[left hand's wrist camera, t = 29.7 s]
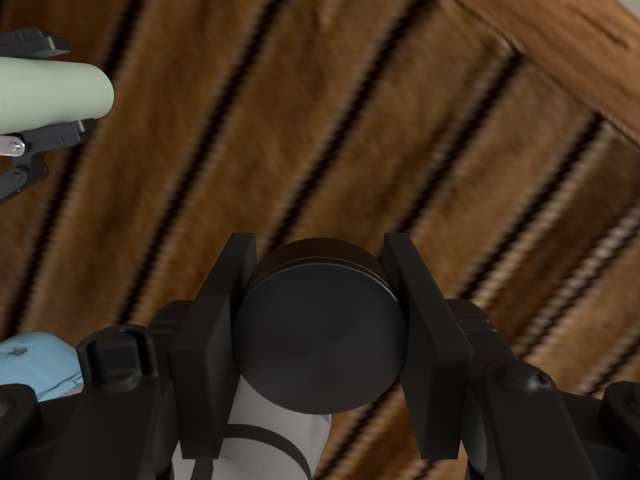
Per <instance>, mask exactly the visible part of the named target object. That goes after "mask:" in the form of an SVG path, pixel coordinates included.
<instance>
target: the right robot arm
mask: <svg viewBox="0 0 640 480" xmlns="http://www.w3.org/2000/svg"><path fill="white" fill-rule="evenodd" d="M68 52H71V50H70V48H69V45H68V42H67V39H64V38H58V37H55V34H54V32H52V31H47V30H42V29H37V28H32V27H27V28H23V29H18V30H14V31H9V32H4V33H0V57H9V58H22V59H40V58H45V57H49V56H54V55H59V54H64V53H68ZM93 129H97V125H96V122H95V119H94V118H89V119H83V120H77V121H72V122H66V123H61V124H56V125H51V126H46V127H41V128H36V129H31V130H25V131H19V132H13V133H7V134H1V135H0V155H7V156H11V165H12V168H10V169H8V170H7V171H5V172H4V173H2V174H0V205H2V204H3V203H5V202H6V201H8V200H10V199H11V198H13V197H15V196H16V195H18V194H19V193H21V192H23V191H24V190H26V189H28V188H29V187H31V186H32V185H34V184H36V183H37V182H39V181H41V180H42V179H44V178H45V177H47V176H48V174H49V168H48V166H47V165H46V164H45V163H44V155H45V153H46V152H47V151H48V150H52V149H57V148H63V147H68V146H73V145H77V144H81V143H85V142H87V141H88V140H89V139H91V135H90V132H89V130H93Z"/></svg>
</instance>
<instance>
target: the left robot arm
mask: <svg viewBox="0 0 640 480" xmlns="http://www.w3.org/2000/svg"><path fill="white" fill-rule="evenodd" d="M256 267H257V255H256V237H255V233H232V235H231V237H230V238H229V240H228V242H227V244H226V245H225V247H224V249H223V251H222V252H221V254H220V256H219V258H218V259H217V261H216V263H215V265H214V266H213V268H212V270H211V272H210V273H209V275H208V277H207V279H206V280H205V282H204V284H203V286H202V287H201V289H200V291H199V293H198V294H197V296H196V298H195V300H194V301H172V302H170V303H169V304H167V305H166V306H164V307H163V308H161V309H160V310H158V312H157V313H156V314H155V316H154V317H153V319H152V320H151V321H150V324H148V326H147V327H144V326H140V325H136V324H122V325H117V326H112V327H107V328H105V329H102V330H99V331H97V332H94V333H92V334H91V335H89V336H88V337H86V338H84V339H83V340H82V341H81V342H80V343H79V344H78V345H77V347H76V350H75V349H74V348H72V347H71V346H69V345H68V344H66V343H65V342H63V341H62V340H60V339H59V338H57V337H55V336H53V335H51V334H48V333H44V332H27V333H22V334H19V335H16V336H14V337H11V338H9V339H7V340H5V341H3V342H1V343H0V480H312V477H313V474H314V472H315V469H316V466H317V464H318V461H319V459H320V456H321V454H322V451H323V449H324V446H325V444H326V441H327V439H328V436H329V432H330V426H331V421H332V414H330V415H311V414H303V413H298V412H293V411H290V410H287V409H284V408H282V407H279V406H277V405H275V404H273V403H271V402H270V401H268V400H266V399H265V398H263V397H262V396H261V395H260V394H258V393H257V392H256V391H255V390H254V389H253V388H252V387H251V386H250V385H249V384H248V383H247V381H246V380H245V379H244V378H243V376H242V374H241V373H240V371H239V369H238V367H237V364H236V362H235V359H234V356H233V350H232V338H231V331H232V325H233V321H234V317H235V314H236V312H237V309H238V306H239V303H240V301H241V298H242V295H243V292H244V289H245V287H246V284H247V282H248V279H249V278H250V276H251V274H252V272H253V271H254V270H255V268H256ZM383 267H384V268H385V269H386V270H387V272H388V274H389V275H390V277H391V279H392V281H393V284H394V286H395V289H396V291H397V294H398V297H399V300H400V302H401V305H402V308H403V311H404V313H405V316H406V319H407V323H408V328H409V335H408V347H407V357H406V360H405V363H404V365H403V368H402V370H401V371H400V373H399V377H400V381H401V384H402V388H403V392H404V396H405V399H406V403H407V407H408V411H409V414H410V418H411V422H412V425H413V429H414V433H415V437H416V440H417V444H418V448H419V452H420V455H421V459H458V453H459V447H460V440H462V443H463V445H464V448H465V451H466V453H467V456H468V462H467V468H466V475H465V480H640V383H638V382H628V381H620V382H614V383H611V384H610V385H609V386H608V387H606V388H605V391H604V395H603V398H602V400H599V399H595V398H590V397H585V396H580V395H575V394H571V393H567V392H563V391H560V390H558V388H557V386H556V384H555V383H554V381H553V380H552V379H551V377H550V376H549V375H547V374H546V373H545V372H543V371H542V370H541V369H539V368H537V367H535V366H533V365H531V364H528V363H526V362H522V361H518V360H517V358H516V357H515V355H514V354H513V353H512V351H511V350H510V348H509V347H508V346H507V344H506V343H505V341H504V340H503V338H502V337H501V336H500V334H499V333H498V332H496V329H495V327H494V326H493V324H492V323H491V322H490V320H489V319H488V317H487V316H486V314H485V313H484V312H483V310H482V309H481V308H479V307H478V306H476V305H475V304H473V303H472V302H470V301H469V300H467V299H445V298H444V297H443V295H442V293H441V291H440V290H439V288H438V286H437V284H436V283H435V281H434V279H433V277H432V276H431V274H430V272H429V270H428V269H427V267H426V265H425V263H424V262H423V260H422V258H421V256H420V255H419V253H418V251H417V249H416V248H415V246H414V244H413V242H412V241H411V239H410V237H409V235H408V234H407V233H384V250H383Z"/></svg>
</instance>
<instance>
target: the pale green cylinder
mask: <svg viewBox="0 0 640 480" xmlns="http://www.w3.org/2000/svg"><path fill="white" fill-rule="evenodd" d="M113 101H114V91H113V87H112V85H111V82H110V81H109V79H108V77H107V76H106V75H105V74H104V73H103V72H102V71H101V70H100V69H98V68H97V67H95V66H93V65H90V64H85V63H73V62H60V61H47V60H35V59H22V58H9V57H0V135H1V134H7V133H13V132H19V131H25V130H31V129H36V128H41V127H46V126H51V125H56V124H61V123H66V122H72V121H77V120H83V119H89V118H94V119H97V118H100V117H103V116H104V115H106V114H107V113H108V112H109V110H110V109H111V107H112V105H113Z"/></svg>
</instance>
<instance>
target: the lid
mask: <svg viewBox="0 0 640 480" xmlns="http://www.w3.org/2000/svg"><path fill="white" fill-rule="evenodd" d="M408 335H409V328H408V323H407V319H406V316H405V313H404V311H403V308H402V305H401V302H400V300H399V297H398V294H397V291H396V289H395V286H394V284H393V281H392V279H391V277H390V275H389V274H388V272H387V270H386V269H385V268H384V267H383V265H382V264H381V263H380V262H379V261H378V260H377V259H376V258H375V257H374V256H372V255H371V254H370V253H368V252H367V251H365V250H364V249H362V248H360V247H358V246H356V245H354V244H351V243H348V242H345V241H341V240H338V239H331V238H310V239H303V240H299V241H295V242H292V243H289V244H287V245H284V246H282V247H280V248H279V249H277V250H275V251H273V252H272V253H271V254H269V255H268V256H267V257H265V258H264V259H263V260H262V261H261V262H260V263H259V264H258V266H257V267H256V268H255V270H254V271H253V272H252V274H251V276H250V278H249V279H248V282H247V284H246V287H245V289H244V292H243V295H242V298H241V301H240V303H239V306H238V309H237V312H236V314H235V317H234V321H233V325H232V331H231V338H232V350H233V356H234V359H235V362H236V364H237V367H238V369H239V371H240V373H241V374H242V376H243V378H244V379H245V380H246V381H247V383H248V384H249V385H250V386H251V387H252V388H253V389H254V390H255V391H256V392H257V393H258V394H260V395H261V396H262V397H263V398H265V399H266V400H268V401H270V402H271V403H273V404H275V405H277V406H279V407H282V408H284V409H287V410H290V411H293V412H298V413H303V414H311V415H330V414H338V413H342V412H347V411H350V410H353V409H356V408H359V407H361V406H363V405H365V404H367V403H369V402H371V401H372V400H374V399H376V398H377V397H378V396H379V395H381V394H382V393H383V392H384V391H385V390H386V389H387V388H388V387H389V386H390V385H391V384H392V383H393V382H394V381H395V379H396V378H397V377H398V375H399V373H400V371H401V370H402V368H403V365H404V363H405V360H406V357H407V347H408Z"/></svg>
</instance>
